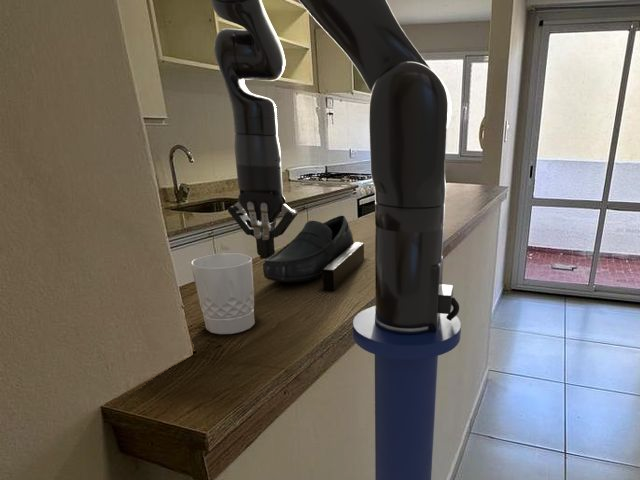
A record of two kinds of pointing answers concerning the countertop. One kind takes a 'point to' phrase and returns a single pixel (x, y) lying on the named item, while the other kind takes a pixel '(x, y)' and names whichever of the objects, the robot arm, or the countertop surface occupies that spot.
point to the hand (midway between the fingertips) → (266, 257)
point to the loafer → (310, 251)
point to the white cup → (225, 291)
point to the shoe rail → (342, 266)
